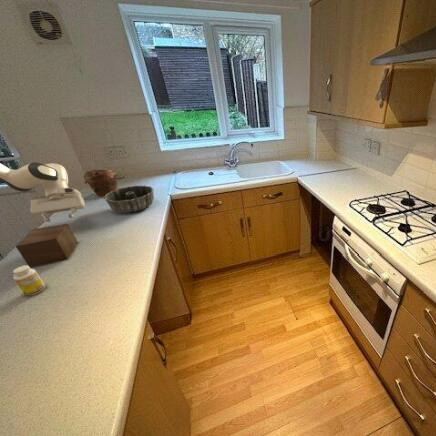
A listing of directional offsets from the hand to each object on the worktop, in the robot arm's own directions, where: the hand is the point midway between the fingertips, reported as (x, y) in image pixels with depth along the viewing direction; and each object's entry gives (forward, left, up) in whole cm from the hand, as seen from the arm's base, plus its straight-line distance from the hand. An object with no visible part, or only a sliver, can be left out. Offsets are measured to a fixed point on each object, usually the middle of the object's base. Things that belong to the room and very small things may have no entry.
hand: (59, 219), depth 118 cm
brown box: (0, -17, -10) cm, 20 cm away
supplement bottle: (+2, -43, -10) cm, 44 cm away
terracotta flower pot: (+6, +62, -10) cm, 63 cm away
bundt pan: (+27, +26, -10) cm, 39 cm away
